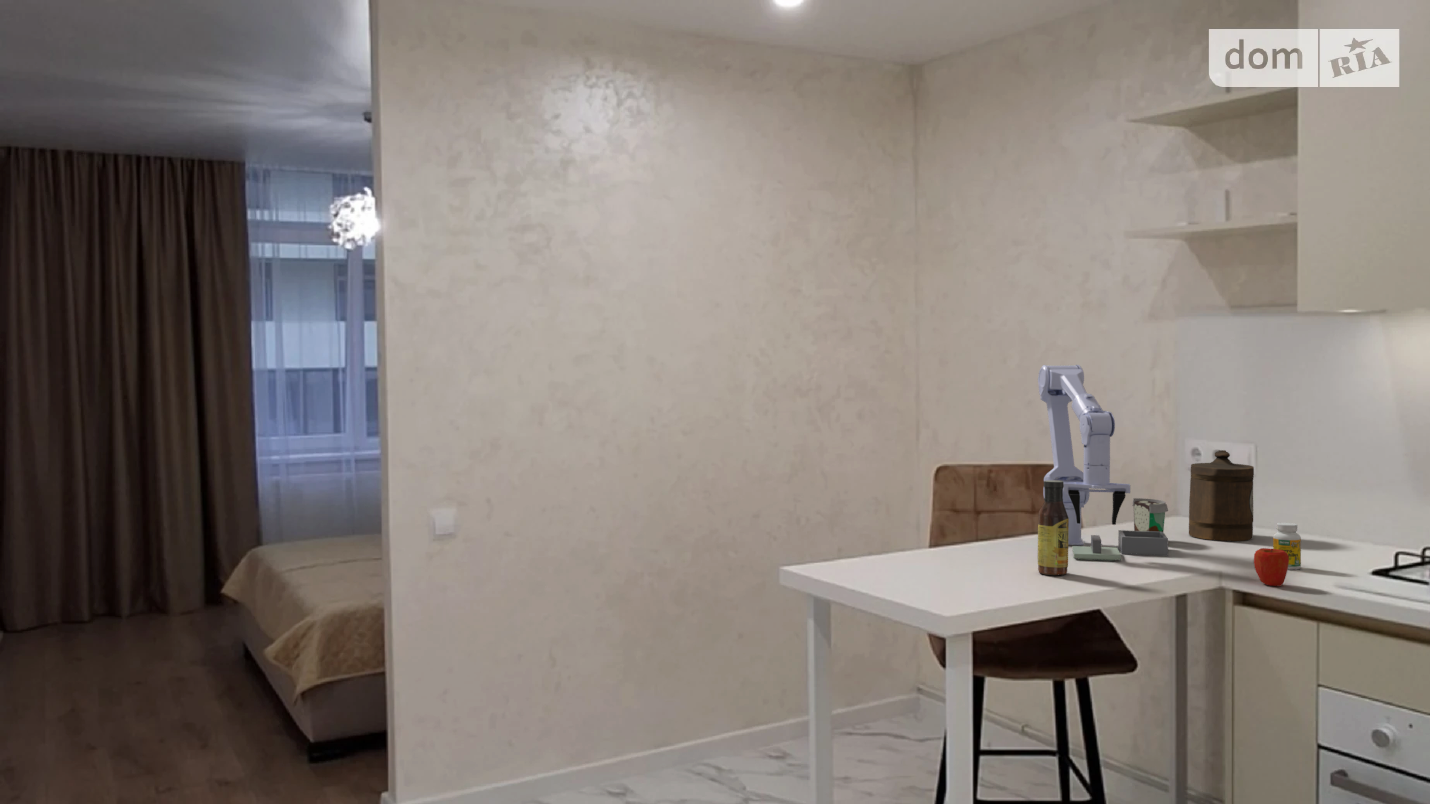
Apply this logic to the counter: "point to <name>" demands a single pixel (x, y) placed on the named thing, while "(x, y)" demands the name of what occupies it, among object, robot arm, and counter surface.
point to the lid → (1096, 551)
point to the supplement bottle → (1289, 543)
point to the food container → (1149, 514)
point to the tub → (1143, 542)
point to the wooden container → (1221, 500)
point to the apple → (1271, 566)
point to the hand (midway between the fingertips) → (1096, 523)
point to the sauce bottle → (1053, 531)
